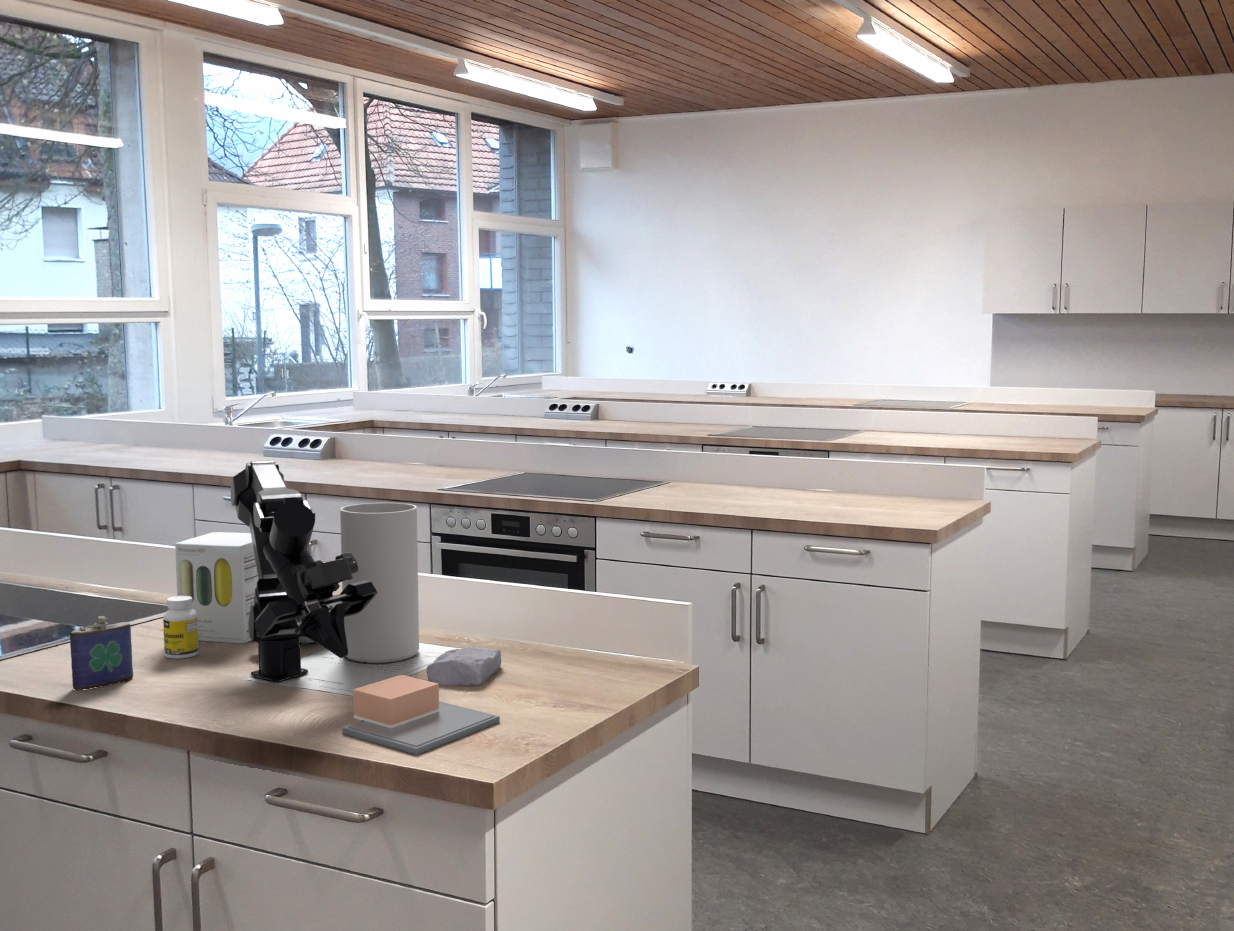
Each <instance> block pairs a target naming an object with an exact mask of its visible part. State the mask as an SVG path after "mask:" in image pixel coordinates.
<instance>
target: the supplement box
mask: <svg viewBox="0 0 1234 931" xmlns="http://www.w3.org/2000/svg"><path fill="white" fill-rule="evenodd" d="M174 548H175V549H174V550H175V568H176V569H175V573H176V574H175V575H176V594H177V595H176V596H190V597H192V606H191V609H194V610H195V611H196V612H197V619H198V642H210V643H211V642H213V643H214V642H215V643H228V644H229V643H230V644H246V643H248V642H250V641H252V640H251V638H250V636H249V625H248V622H249V615H250V608H251V603H254V596H255V588H256V587H257V582H258V580H259V577H258V572H257V566H256V561H255V555H254V549H253V544H252V538H251V533H250V532H249V533H248V532H224V531H223V532H222V531H213V532H209V533H205V534H202V535H198V536H195V537H192V538H189V539H185V540H182V541H179V542H175V544H174Z"/></svg>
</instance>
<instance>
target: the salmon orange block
mask: <svg viewBox="0 0 1234 931" xmlns="http://www.w3.org/2000/svg"><path fill="white" fill-rule="evenodd" d="M439 686H440V684H438V683H434V682H430V680H425V679H420V678H417V677H416V678H415V677H413V676H408V675H404V674H399V675H395V676H393V677H389V678H386V679H383V680H381V681H376V682H374V683H370V684H367V685H364V686H360V687H356V688H354V689H352V704H353V719H357V720H360V721H367V722H370V723H374V724H377V725H381V726H384V727H388V728H394V727H397V726H399V725H402V724H405V723H408V722H411V721H414V720H416V719H419V718H422V717H425V716H428V715H431V714H433V713H436V712H439V702H440V694H439V693H440V689H439V688H440V687H439Z"/></svg>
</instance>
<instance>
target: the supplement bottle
mask: <svg viewBox="0 0 1234 931" xmlns="http://www.w3.org/2000/svg"><path fill="white" fill-rule="evenodd" d="M166 606H167V608H168V610H167V611H166V612H164V613H163V616H162V618H163V620H162V623H163V645H164V650H163V651H164V656H165V657H166V658H169V659H176V660H177V659H178V660H180V659H181V660H182V659H187V658H192V657H194V656H197V655H198V654H199V652H200V651H199V650H200V648H199V641H198V619H197V612H196V611H195V610H194V609H191V606H192V597H190V596H177V595H176V596H171V597H168V598H167V599H166Z"/></svg>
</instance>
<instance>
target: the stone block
mask: <svg viewBox="0 0 1234 931" xmlns="http://www.w3.org/2000/svg"><path fill="white" fill-rule="evenodd" d="M501 664H502V650H501V649H500V648H496V649H491V648H487V647H486V648H485V647H482V646H465V647H461V648H454V649H450V650H447V651H444V653H442V654H441V655H438V657H437V656H436V658H435V660H434V661H433V662H432V663H430V664H428V665H427V666H426V676H427V679H428V681H429V682H434V683H438V684H439V685H444V686H445V685H447V686H449V685H450V686H457V685H458V686H460V685H461V686H471V687H472V686H473V687H474V686H476V687H478V686H479V687H480V686H481V685H483V684H484V683H485V682H486V681H487V680H488V679H489V678H490V677H491V676H492V675H494V674H495V673H496V672H497V671H499V669H500V667H501V666H502V665H501Z"/></svg>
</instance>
